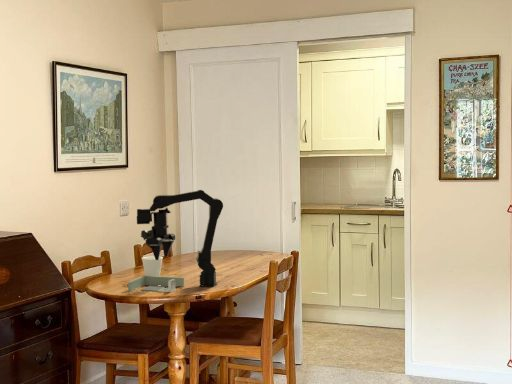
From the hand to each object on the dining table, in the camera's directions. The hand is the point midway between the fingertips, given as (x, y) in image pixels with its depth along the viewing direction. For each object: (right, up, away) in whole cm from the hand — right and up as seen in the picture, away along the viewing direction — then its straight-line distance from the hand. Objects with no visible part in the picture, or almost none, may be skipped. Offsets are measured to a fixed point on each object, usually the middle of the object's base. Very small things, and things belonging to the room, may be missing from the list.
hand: (161, 258), depth 301 cm
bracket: (+4, -13, -8) cm, 16 cm away
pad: (-3, -13, -3) cm, 14 cm away
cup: (-6, -12, +15) cm, 21 cm away
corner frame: (-1, -13, -3) cm, 13 cm away
